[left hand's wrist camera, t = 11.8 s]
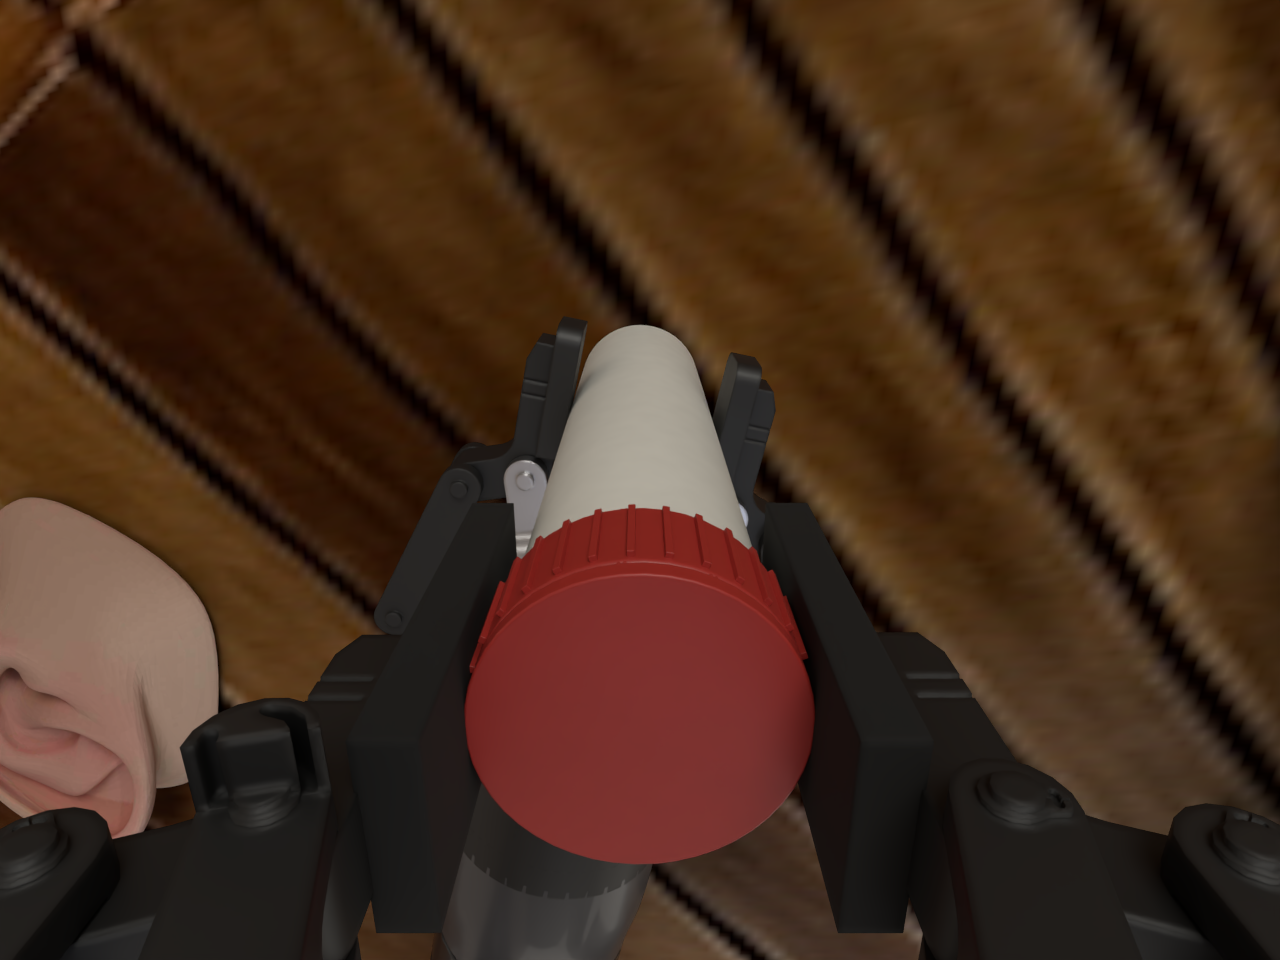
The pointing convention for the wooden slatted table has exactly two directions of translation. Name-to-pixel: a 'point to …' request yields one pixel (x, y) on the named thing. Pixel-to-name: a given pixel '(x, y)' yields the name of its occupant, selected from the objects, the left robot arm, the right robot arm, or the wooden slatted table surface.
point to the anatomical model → (95, 667)
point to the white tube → (639, 438)
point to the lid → (639, 689)
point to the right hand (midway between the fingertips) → (658, 344)
